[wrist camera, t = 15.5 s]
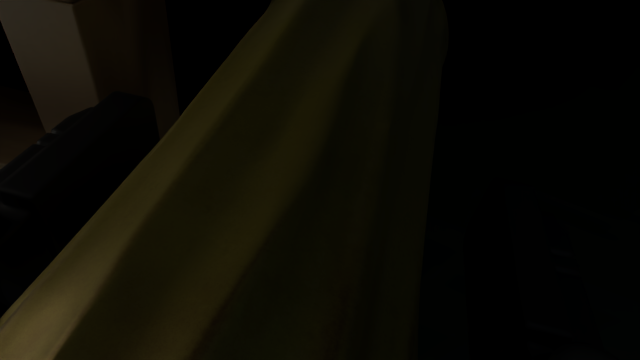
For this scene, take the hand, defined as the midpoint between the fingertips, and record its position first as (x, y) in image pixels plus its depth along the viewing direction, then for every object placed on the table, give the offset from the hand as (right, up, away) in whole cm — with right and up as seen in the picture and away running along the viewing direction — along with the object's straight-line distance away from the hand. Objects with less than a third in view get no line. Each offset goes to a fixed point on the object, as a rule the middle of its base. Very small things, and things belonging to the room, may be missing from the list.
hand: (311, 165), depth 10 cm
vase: (+1, +5, +5) cm, 7 cm away
